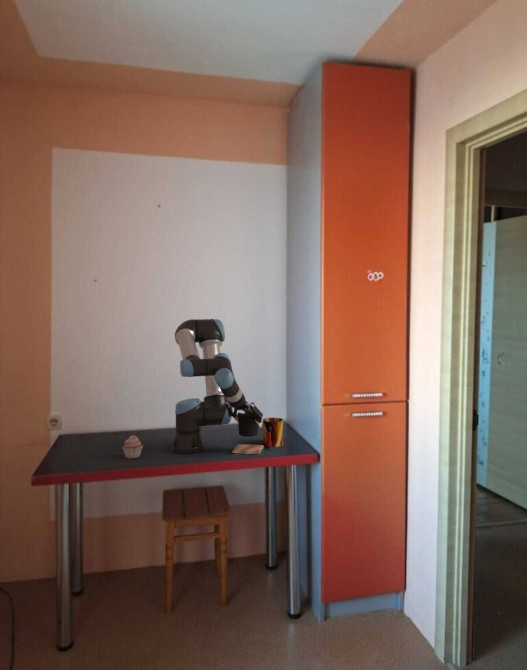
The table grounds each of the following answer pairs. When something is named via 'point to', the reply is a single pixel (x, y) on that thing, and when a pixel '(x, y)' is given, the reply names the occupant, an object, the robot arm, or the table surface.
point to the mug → (273, 432)
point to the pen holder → (247, 425)
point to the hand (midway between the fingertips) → (251, 424)
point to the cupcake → (132, 447)
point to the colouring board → (248, 449)
